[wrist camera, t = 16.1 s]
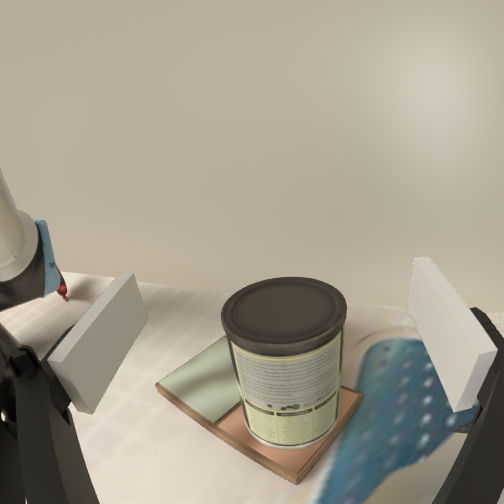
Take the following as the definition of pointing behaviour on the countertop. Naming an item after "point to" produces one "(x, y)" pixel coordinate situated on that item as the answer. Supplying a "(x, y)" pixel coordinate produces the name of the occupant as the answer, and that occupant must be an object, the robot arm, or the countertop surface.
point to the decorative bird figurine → (61, 286)
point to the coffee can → (287, 358)
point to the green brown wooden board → (241, 411)
